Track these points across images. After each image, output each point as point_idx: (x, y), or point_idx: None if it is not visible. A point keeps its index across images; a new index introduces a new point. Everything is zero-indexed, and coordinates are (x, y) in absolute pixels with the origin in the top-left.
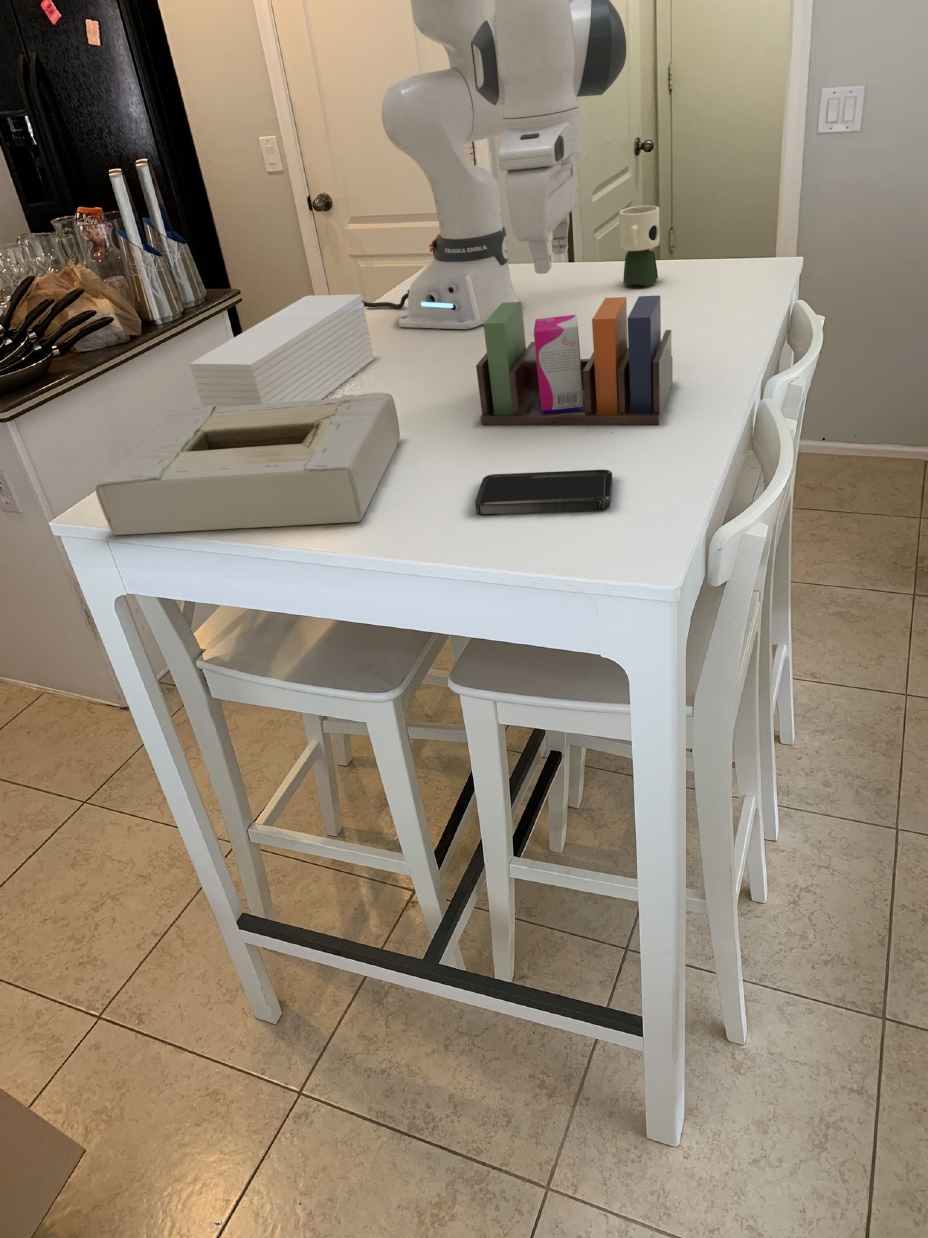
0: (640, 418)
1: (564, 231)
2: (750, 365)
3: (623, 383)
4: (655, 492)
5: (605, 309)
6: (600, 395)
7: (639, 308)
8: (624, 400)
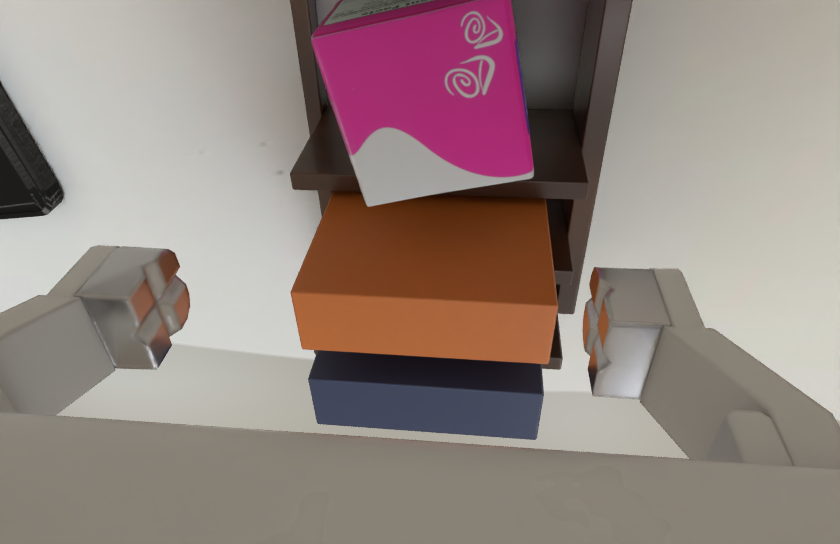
0: None
1: (673, 421)
2: None
3: None
4: (59, 269)
5: (402, 319)
6: None
7: (400, 401)
8: None
